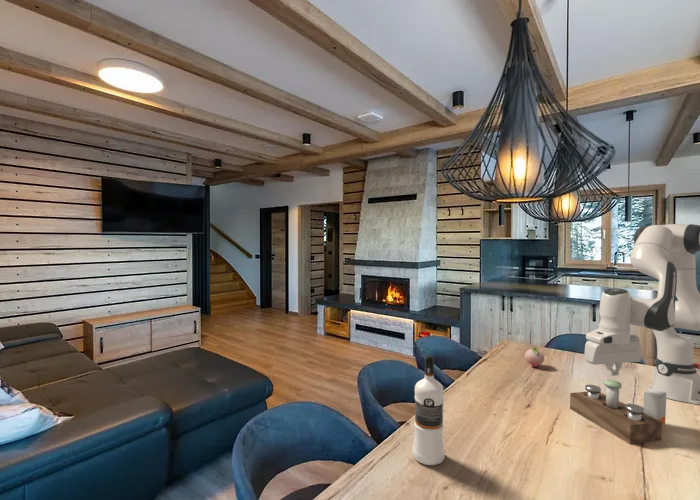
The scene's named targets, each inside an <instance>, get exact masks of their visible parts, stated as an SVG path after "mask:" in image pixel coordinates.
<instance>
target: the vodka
mask: <svg viewBox="0 0 700 500" xmlns="http://www.w3.org/2000/svg"><path fill="white" fill-rule="evenodd" d="M434 365H435V357H434V356H432V355H426V356H425V357H424V378H422V379H420V380H418V381H417V382H416V383H415V384H414V401H415V402H414V403H415V404H414V423H413V424H414V438H413V445H412V456H413V457H414V459H415V461H417V462H418V463H421V464H422V465H425V466H438V465H439V464H442V463H443V461H444V460H445V458H446V456H445V455H446V454H445V453H446V452H445V447H444V439H443V437H444V434H443V433H444V396H445V395H444V394H445V390H444V387H443V385H442V384H441V382H439V381H438V380H436V379H435V373H434V372H435V366H434Z"/></svg>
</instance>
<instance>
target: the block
mask: <svg viewBox="0 0 700 500" xmlns="http://www.w3.org/2000/svg"><path fill="white" fill-rule="evenodd" d="M569 395H570V396H569V403H570V404H569V409H570V410H572V411H573V412H575V413H576V414H579V415H580V416H582V417H583V418H585V419H587V420H588V421H590V422H592V423H594V424H595V425H597V426H598V427H600V428H601V429H604V430H605V431H607V432H609V433H610V434H612V435H614V436H616V437H617V438H619V439H621V440H622V441H624V442H626V443H627V444H629V445H633V444H641V443H642V444H643V443H650V442H657V441H658V442H659V441H662V430H663V427H662V422H661V421H659V420H657V419H655V418H653V417H651V416H649V415H647V414H645V413H643V414H641V421H633V420H631V419H629V418H628V417H627V410H626V409H625V404H626V403H624V402H622V401H621V400H619V409H614V410H612V409H610V408H608V407H606V393H603V392H601V393H599V399H591V398H589V397H587V391H578V392H570V393H569Z"/></svg>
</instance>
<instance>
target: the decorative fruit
mask: <svg viewBox="0 0 700 500" xmlns="http://www.w3.org/2000/svg"><path fill="white" fill-rule="evenodd" d="M524 359H525V361H526V362H527V363H528V364H530V365H531V366H533V367H534V368H535V367H540V366H541V365H542V364H543V363H544V361H545V355H544V354H543V353H542V351H540V350H539V349H538V348H537V347H531V348H529V349H528V350H526V351H525V353H524Z"/></svg>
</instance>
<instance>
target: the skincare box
mask: <svg viewBox="0 0 700 500" xmlns="http://www.w3.org/2000/svg"><path fill="white" fill-rule="evenodd" d="M643 408H644V413H645V414H647V415H649V416H651V417H653V418H655V419H657V420H659V421H661V422H662V428H663V427H665V426H666V412H667V411H666V410H667V398H666V392H664V391H661V390H658V389H654V388H652V389H651V388H648V389H647V390H644V391H643Z"/></svg>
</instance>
